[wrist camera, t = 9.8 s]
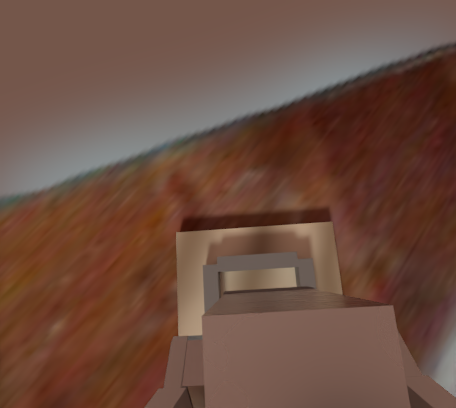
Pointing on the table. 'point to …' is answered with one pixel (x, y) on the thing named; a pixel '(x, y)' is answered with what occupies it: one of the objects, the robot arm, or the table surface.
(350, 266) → the table surface
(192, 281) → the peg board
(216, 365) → the grey rectangular block
